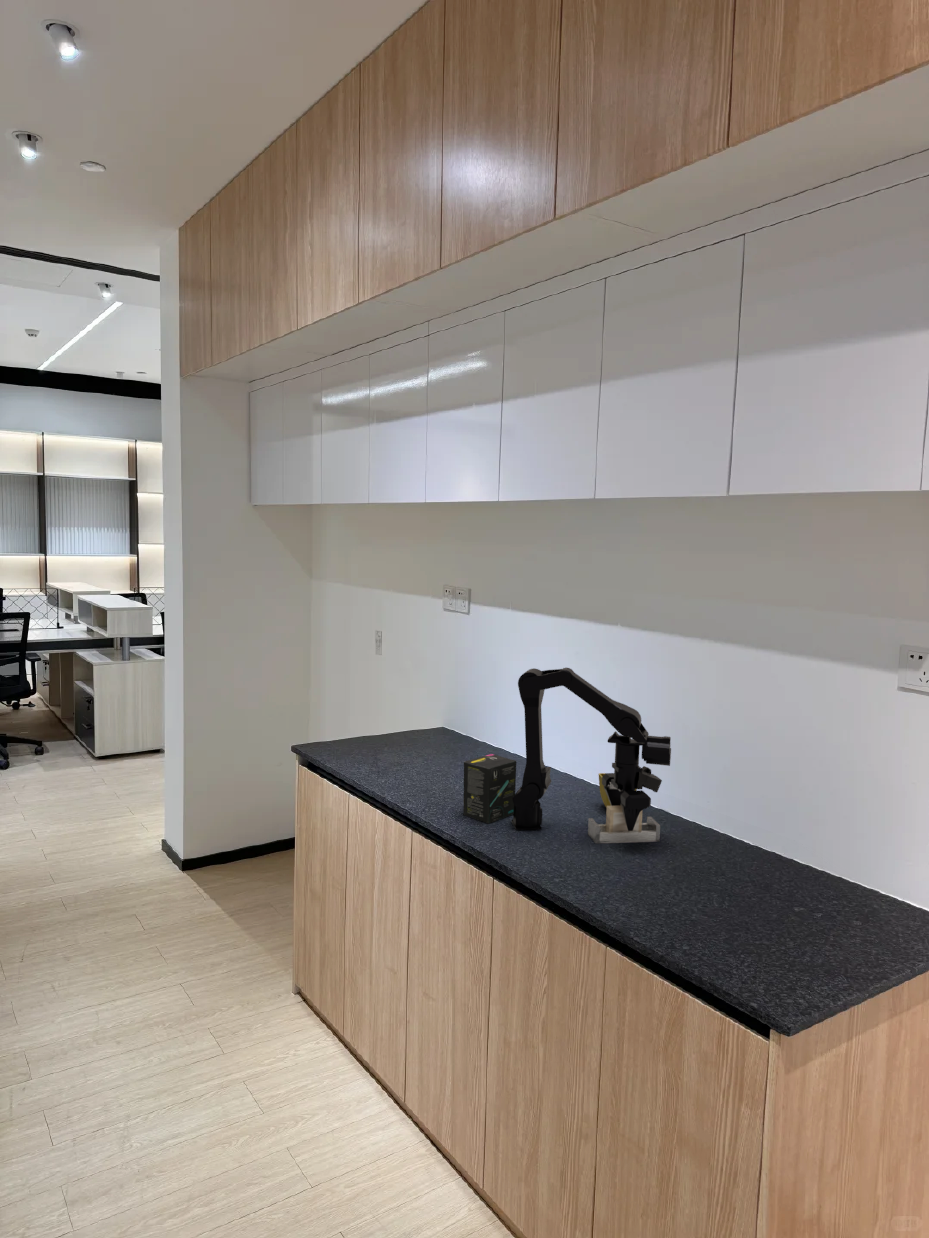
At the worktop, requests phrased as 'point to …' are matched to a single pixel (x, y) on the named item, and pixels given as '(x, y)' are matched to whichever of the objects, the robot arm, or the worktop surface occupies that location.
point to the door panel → (619, 820)
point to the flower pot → (603, 792)
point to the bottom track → (624, 833)
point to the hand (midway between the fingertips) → (623, 823)
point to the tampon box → (489, 788)
